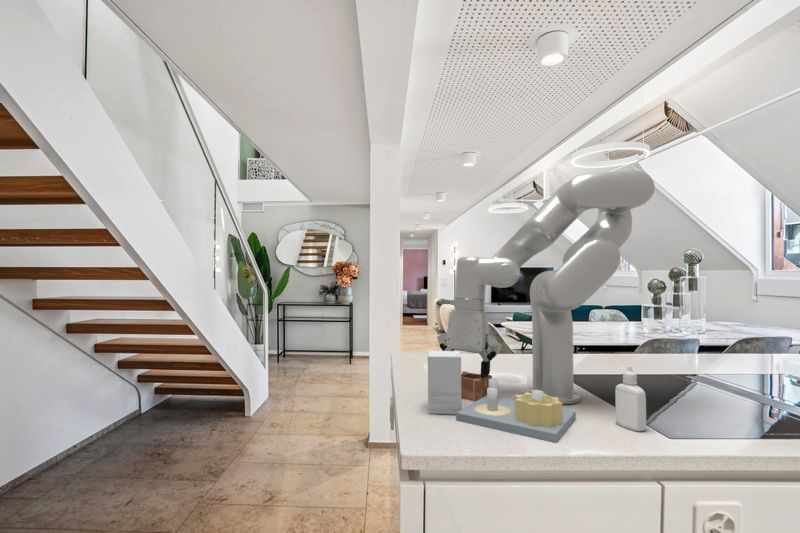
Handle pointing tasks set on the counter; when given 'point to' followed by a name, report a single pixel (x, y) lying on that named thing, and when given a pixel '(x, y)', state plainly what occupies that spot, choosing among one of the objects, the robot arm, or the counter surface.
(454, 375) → the supplement box
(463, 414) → the gear board
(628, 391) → the eye dropper bottle
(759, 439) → the counter surface
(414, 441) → the counter surface
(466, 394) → the brown open boxy piece
